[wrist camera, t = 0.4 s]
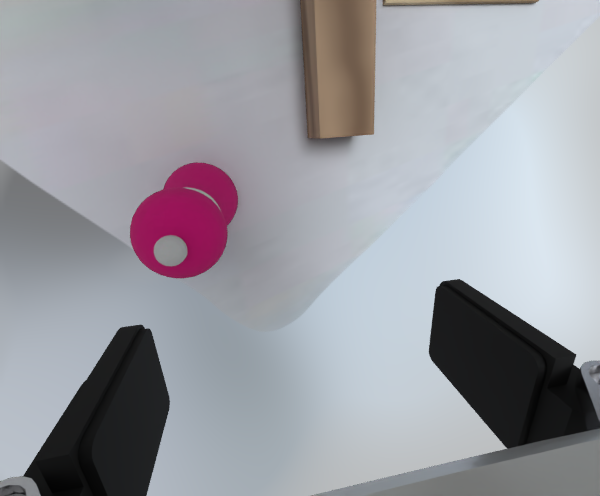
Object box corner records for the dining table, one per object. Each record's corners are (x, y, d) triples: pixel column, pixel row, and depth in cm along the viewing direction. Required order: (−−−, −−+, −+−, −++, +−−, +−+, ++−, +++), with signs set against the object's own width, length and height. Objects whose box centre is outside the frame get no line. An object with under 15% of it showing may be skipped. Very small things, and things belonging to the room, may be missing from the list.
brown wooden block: (307, 137, 35) (320, 138, 30) (297, -39, 29) (311, -79, 24) (353, 134, 36) (373, 134, 30) (352, -38, 30) (377, -77, 25)
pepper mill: (229, 229, 37) (218, 323, 18) (166, 213, 35) (84, 301, 17) (245, 170, 35) (250, 211, 16) (179, 150, 33) (102, 170, 15)
